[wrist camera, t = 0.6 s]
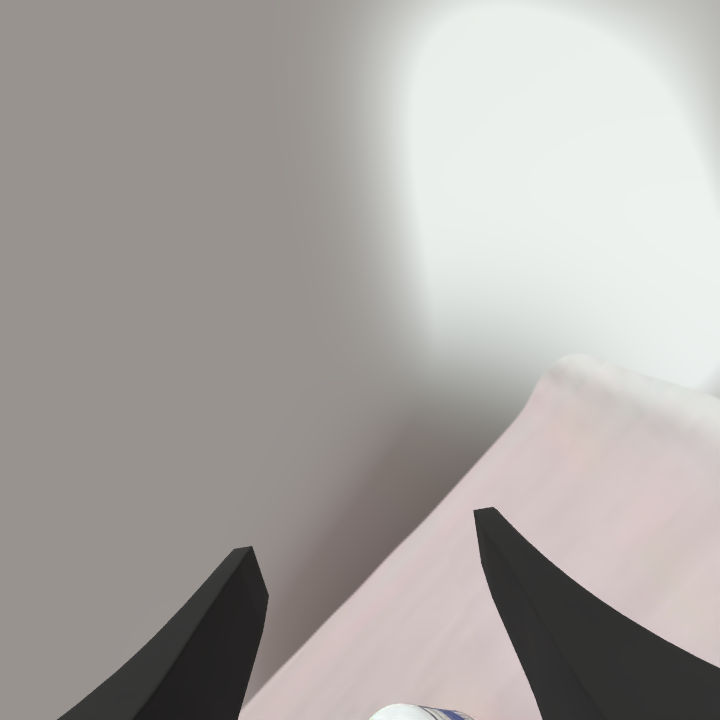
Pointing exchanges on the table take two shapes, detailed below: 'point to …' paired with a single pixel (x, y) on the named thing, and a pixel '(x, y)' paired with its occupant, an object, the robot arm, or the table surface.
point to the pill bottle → (417, 713)
